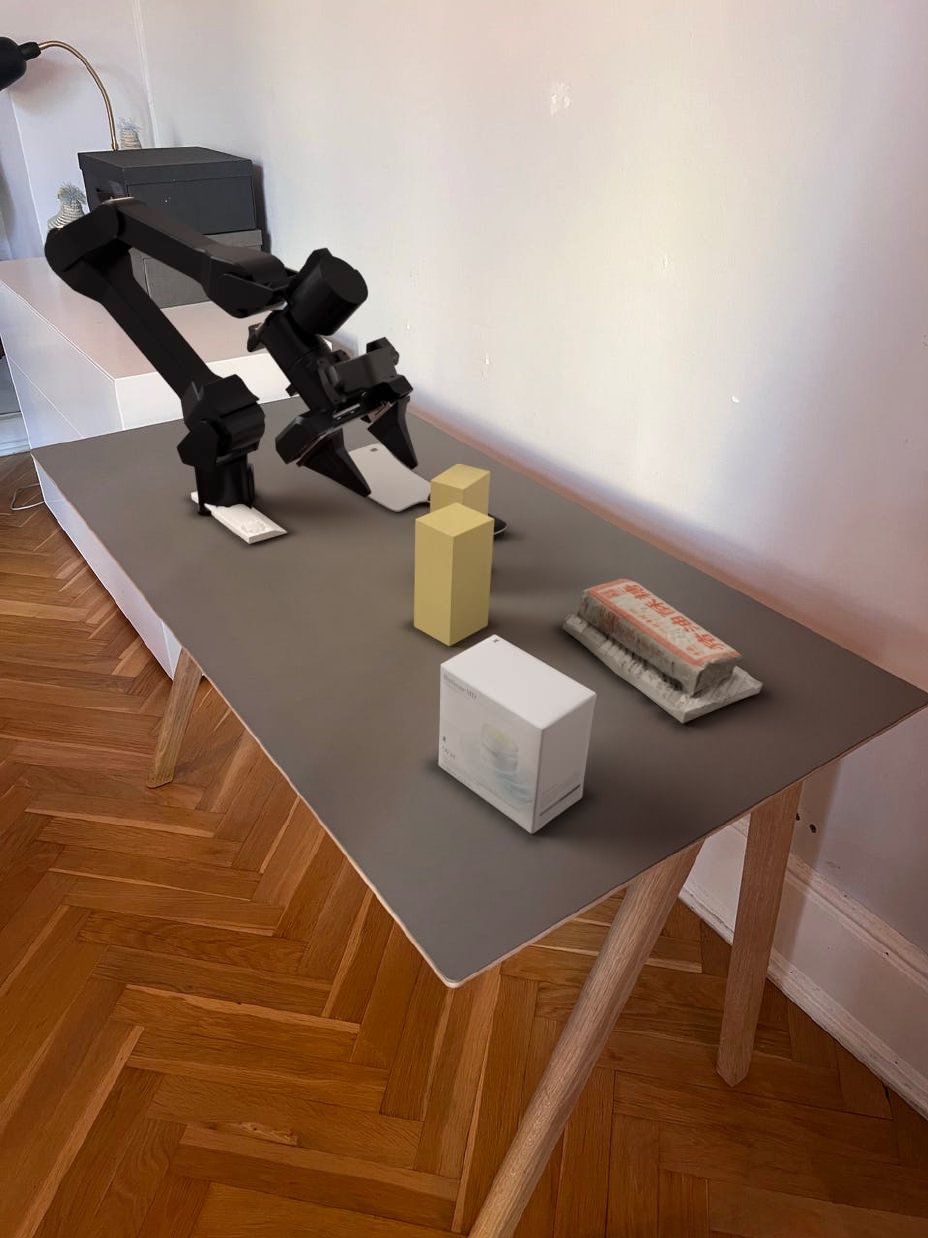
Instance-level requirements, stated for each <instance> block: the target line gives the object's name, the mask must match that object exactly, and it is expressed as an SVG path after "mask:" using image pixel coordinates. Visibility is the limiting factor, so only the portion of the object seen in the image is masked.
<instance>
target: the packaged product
mask: <svg viewBox="0 0 928 1238" xmlns="http://www.w3.org/2000/svg"><path fill="white" fill-rule="evenodd" d="M580 594H581V595H580V596H579V600H580V603H579V605H578V609H577V612H576V613H574V614H567V615H566V617H565V618H564V620H563V625H562V629H563V630H564V631H565V632H567V633H568V634H569V635H571V636H572V637H573V638H574V639H576V640H577V641H578V642H580V643H581V644H582V645H583V646H584V647H585V648H586V649H588V650H589V651H590V652H591V653H592V654H593V655H594V656H595V657H597V658H598V659H599V660H601V662H602V663H604V664H605V666H607V667H608V668H609V669H610V670H611V671H612V672H613V673H614V674H615V675H617V676H618V677H620V678H621V679H623V680H624V681H626V682H627V683H628V684H631V685H632V686H633V687H635V688H636V689H638V690H639V691H640V692H641V693H643V694H644V695H645V696H647V697H648V698H649V699H650V700H651V701H652V702H654V703H655V704H657V705H658V706H659V707H661V709H663V710H664V711H665V712H667V713H668V714H669V715H671V716H672V717H673V718H675V720H677V721H679V723H681V724H685V723H687V722H690V721H691V720H695V719H696V718H699V717H701V716H704V715H707V714H709V713H711V712H713V711H715V710H718V709H720V708H723V707H726V706H728V705H730V704H734V703H735V702H738V701H741V700H743V699H745V698H748V697H752V696H754V695H757V694H759V693H760V691H761V689H762V686H763V684H764V683H763V682H761V681H759V680H757V679H756V678H754V677H752V676H751V674H749V672H747V671H746V670H744V669H742V668H741V667H738V665H739V664H740V663H741V662H742V661H743V656H742V654H740V653H739V652H738V651H737V650H735V649H734V648H732V647H731V646H730V645H728V644H726V643H725V642H724V641H722V640H721V639H720V638H719V637H716V636H715V635H713V634H712V633H711V632H710V631H708V630H706V629H705V628H703V626H701V625H699V624H698V623H696V622H695V621H694V620H692V619H691V618H689V617H687V616H686V615H685V614H684V613H681V612H680V611H678V610H676V608H675V607H673V606H671V605H670V604H668V603H667V602H665V601H664V600H663V599H662V598H659V597H658V596H657V595H655V594H654V593H652V592H651V591H650V590H648V589H647V588H645V587H644V586H643V585H642V584H640V583H639V582H636V581H634V580H632V579H625V578H618V579H616V580H612V581H610V582H606V583H601V584H597V585H595V586H592V587H590V588H586V589H584V590H582V591H581V593H580Z"/></svg>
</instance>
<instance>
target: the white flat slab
mask: <svg viewBox="0 0 928 1238" xmlns="http://www.w3.org/2000/svg"><path fill="white" fill-rule="evenodd" d="M190 495H191V496H190V497H191V500H192V501H194V502H195V503H196V504H198V494H197V491H194V492H193V491H192V492H191V493H190ZM204 505H205V506H206V507H207V508H208V509H209V510H211V513H212V514H211V516H212V517H214V518H215V519H216V520H217V521H219V522H220V523H221V524H222V525H224V526H225V527H226V528H228V529H229V530H230V531H231V532H233V533H234V534H235V535H236V536H239V537H240V538H241V539H242V540H244V542H247V544H249V545H250V544H253V543H256V542H260V541H264V540H267V539H271V538H274V537H277V536H281V535H284V534H288V531H286V530H285V529H284V528H283V527H281V526H280V525H278V524H277V523H275V522H274V521H273V520H271V519H270V518H268V517H267V516H266V515H265V514H263V513H262V512H260V511H259V510H257V509H256V508H255V507H253V506H252V509H249V507H246V506H245V505H244V504H237V505H233V506H231V507H229V508H225V507H220V506H218V508H217V507H216V506H212V505H208V504H206V503H205V504H204Z"/></svg>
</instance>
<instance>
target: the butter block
mask: <svg viewBox="0 0 928 1238" xmlns="http://www.w3.org/2000/svg"><path fill="white" fill-rule="evenodd" d="M414 527H415V529H414V530H415V531H414V532H415V533H414V536H415V537H414V544H415V545H414V594H413V595H414V596H413V597H414V602H413V627H414V628H416V629H417V630H420V631H421V632H423V633H425V634H426V635H428V636H430V637H431V638H433V639H435V640H437V641H438V642H441V643H443V644H444V645H446V646H448V647H452V646H453V645H455V644H456V643H458V642H460V641H462V640H464V639H466V638H468V637H469V636H471V635H473V634H475V633H477V632H479V631H481V630H482V629H484V628H487V627H488V625H489V624H488V623H489V611H490V609H489V608H490V595H491V593H490V592H491V579H492V565H493V564H492V561H493V547H494V538H493V533H494V519H493V518H491V517H489V516H487V515H484V514H482V513H480V512H477V511H475V510H473V509H471V508H468V507H466V506H464V505H461V504H459V503H457V502H456V503H454V504H451V505H449V506H446V507H444V508H441V509H439V510H436V511H434V512H432V513H430V512H429V513H427V514H424V515H422V516H420V517H417V518H415V526H414Z"/></svg>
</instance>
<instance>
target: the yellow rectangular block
mask: <svg viewBox="0 0 928 1238" xmlns="http://www.w3.org/2000/svg"><path fill="white" fill-rule="evenodd" d="M430 483H431V492H430V504H429V513H432V512H434V511H436V510H439V509H441V508H444V507H446V506H449V505H451V504H454V503H456V502H457V503H459V504H461V505H464V506H466V507H468V508H471V509H473V510H475V511H477V512H480V513H482V514H484V515H487V516H488V513H489V502H490V501H489V499H490V498H489V497H490V485H491V471H489V470H486V469H481V468H479V467H475V466H470V465H467V464H463V463H456V464H454V465H453V466H451V467H450V468H448V469H446V470H445V471H443V472H441V473H440V474H438V475H437V476H435V477H434V478H432V479H430Z"/></svg>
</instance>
